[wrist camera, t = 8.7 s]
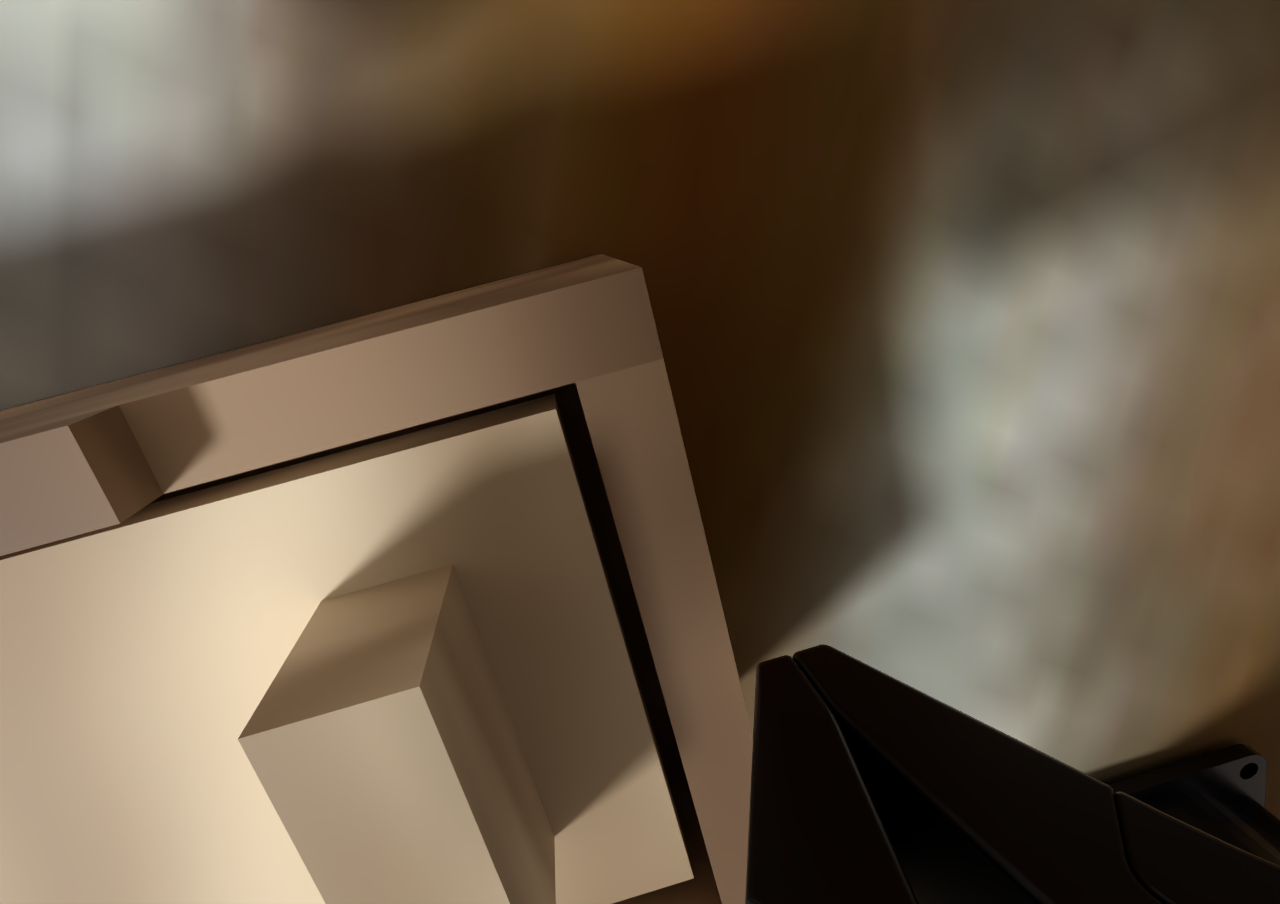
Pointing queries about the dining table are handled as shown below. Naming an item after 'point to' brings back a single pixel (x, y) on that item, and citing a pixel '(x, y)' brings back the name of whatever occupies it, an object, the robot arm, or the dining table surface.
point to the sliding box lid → (335, 691)
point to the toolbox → (423, 398)
